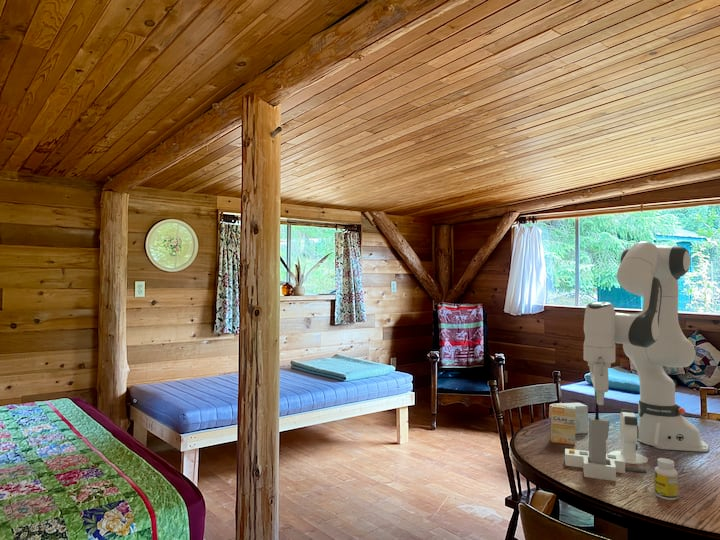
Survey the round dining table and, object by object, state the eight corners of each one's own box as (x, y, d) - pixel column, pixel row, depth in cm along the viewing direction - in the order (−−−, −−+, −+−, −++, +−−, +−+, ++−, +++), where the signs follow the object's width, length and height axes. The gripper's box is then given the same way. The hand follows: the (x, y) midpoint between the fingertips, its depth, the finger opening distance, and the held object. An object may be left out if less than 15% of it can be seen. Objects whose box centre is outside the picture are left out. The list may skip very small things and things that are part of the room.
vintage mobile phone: (609, 477, 152) (609, 393, 152) (591, 476, 153) (591, 392, 153) (606, 472, 156) (606, 391, 156) (588, 471, 157) (588, 390, 157)
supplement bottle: (650, 492, 142) (650, 457, 142) (668, 491, 142) (668, 456, 142) (663, 501, 136) (663, 464, 136) (682, 500, 137) (682, 463, 137)
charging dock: (644, 469, 159) (644, 455, 159) (651, 486, 146) (651, 471, 146) (565, 459, 167) (565, 446, 167) (565, 474, 154) (565, 460, 154)
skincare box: (579, 428, 201) (579, 401, 201) (588, 433, 195) (588, 406, 195) (554, 429, 200) (554, 402, 200) (563, 434, 193) (563, 406, 193)
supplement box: (550, 442, 184) (550, 406, 184) (551, 438, 188) (551, 403, 188) (575, 445, 180) (575, 408, 181) (575, 441, 185) (575, 405, 185)
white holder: (651, 466, 161) (651, 419, 161) (611, 462, 165) (611, 415, 165) (644, 454, 172) (644, 409, 172) (607, 450, 176) (607, 406, 176)
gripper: (614, 361, 144) (613, 410, 144) (607, 351, 163) (607, 394, 163) (589, 359, 146) (589, 407, 146) (586, 350, 165) (586, 392, 165)
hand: (598, 400), depth 155 cm, fingers open, 8 cm apart
